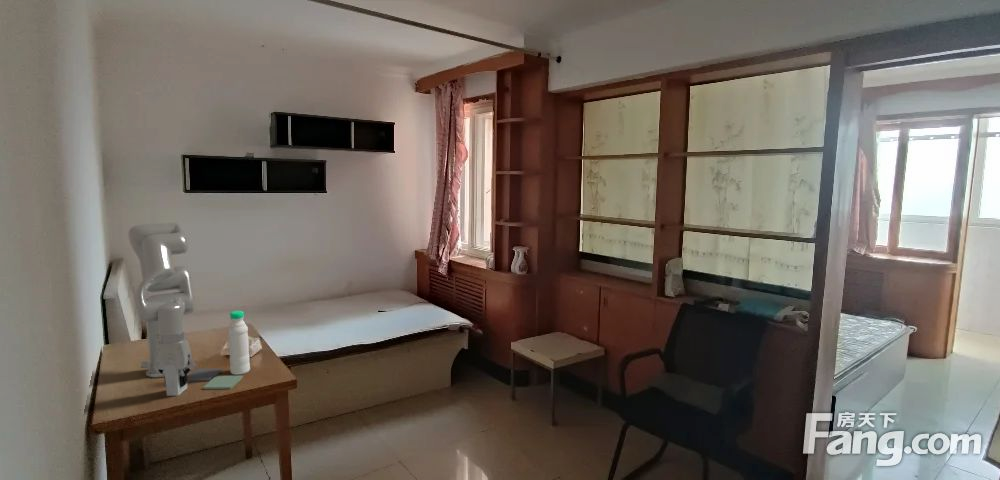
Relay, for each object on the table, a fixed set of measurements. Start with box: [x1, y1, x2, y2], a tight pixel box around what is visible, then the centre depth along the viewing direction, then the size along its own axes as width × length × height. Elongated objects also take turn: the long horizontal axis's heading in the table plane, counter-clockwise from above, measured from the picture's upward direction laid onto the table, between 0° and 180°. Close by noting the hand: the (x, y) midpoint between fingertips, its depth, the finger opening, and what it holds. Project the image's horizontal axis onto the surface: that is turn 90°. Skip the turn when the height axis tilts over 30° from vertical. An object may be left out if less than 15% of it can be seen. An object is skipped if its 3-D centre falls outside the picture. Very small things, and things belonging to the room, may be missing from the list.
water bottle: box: [227, 310, 251, 376], centre depth 192 cm, size 7×7×25 cm
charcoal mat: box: [187, 368, 223, 383], centre depth 190 cm, size 10×10×1 cm
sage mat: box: [202, 375, 244, 390], centre depth 184 cm, size 10×10×1 cm
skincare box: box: [164, 364, 188, 397], centre depth 175 cm, size 6×4×12 cm
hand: (176, 384), depth 175 cm, fingers closed on skincare box, 4 cm apart
